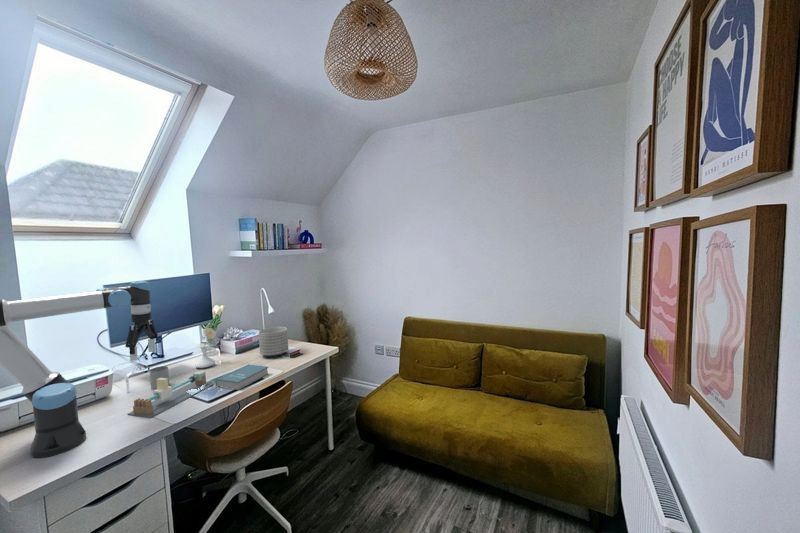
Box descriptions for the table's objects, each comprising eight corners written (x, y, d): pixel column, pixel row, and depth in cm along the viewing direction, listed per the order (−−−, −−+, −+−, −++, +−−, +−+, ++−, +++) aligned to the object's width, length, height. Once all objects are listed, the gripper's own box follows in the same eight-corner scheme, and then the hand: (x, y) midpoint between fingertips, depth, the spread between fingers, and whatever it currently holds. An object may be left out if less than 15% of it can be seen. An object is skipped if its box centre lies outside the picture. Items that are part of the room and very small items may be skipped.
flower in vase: (200, 371, 202) (198, 332, 201) (191, 367, 208) (189, 330, 207) (221, 364, 214) (219, 327, 212) (212, 361, 220) (209, 325, 218)
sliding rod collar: (161, 400, 156) (159, 381, 156) (153, 400, 157) (152, 381, 157) (172, 395, 162) (171, 376, 161) (165, 394, 163) (164, 376, 162)
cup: (159, 389, 176) (157, 372, 176) (147, 389, 178) (145, 371, 177) (173, 383, 185) (171, 366, 184) (161, 382, 186) (159, 365, 186)
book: (238, 391, 173) (238, 382, 173) (216, 387, 179) (215, 378, 178) (268, 374, 195) (268, 366, 194) (247, 372, 200) (247, 364, 200)
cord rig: (151, 417, 147) (150, 402, 146) (127, 414, 150) (126, 399, 149) (214, 384, 182) (213, 371, 181) (193, 382, 185) (192, 370, 184)
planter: (283, 348, 243) (281, 325, 242) (292, 355, 228) (291, 330, 227) (256, 354, 231) (255, 330, 230) (264, 361, 216) (263, 335, 215)
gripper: (132, 317, 145) (134, 364, 146) (164, 308, 169) (166, 347, 170) (113, 318, 143) (116, 365, 144) (148, 308, 168) (150, 348, 169)
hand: (143, 355), depth 157 cm, fingers open, 13 cm apart
